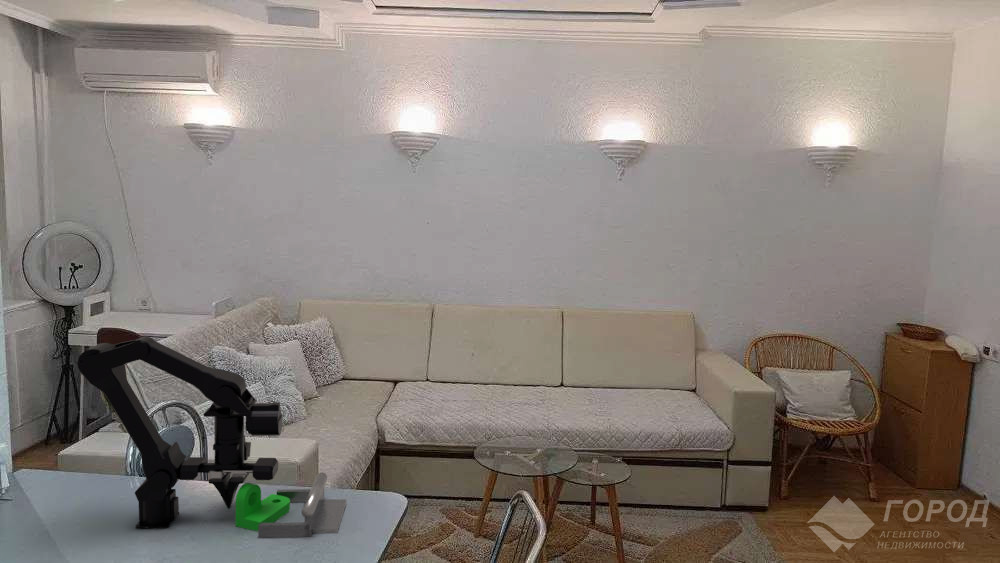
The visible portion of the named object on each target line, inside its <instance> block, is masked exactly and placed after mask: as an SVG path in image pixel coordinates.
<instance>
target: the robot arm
mask: <svg viewBox="0 0 1000 563" xmlns="http://www.w3.org/2000/svg"><path fill="white" fill-rule="evenodd" d="M136 361H142V362H144V363H146V364H149V365H150V366H152V367H154V368H157V369H159V370H161V371H163V372H165V373H167V374H169V375H170V376H173V377H175V378H178V379H179V380H182V381H183V382H185V383H188V384H190V385H191V386H193V387H195V388H196V389H197V390H198V391H200V393H202V395H203V396H204V397H205V398H206V399H208V400H210V402H212V403H211V405H210V406H209V407H208V408H207V409H206V410H205V411H204V413H203V414H202V415H203V417H205V418H207V417H214V421H213V422H214V423H213V424H214V425H213V426H214V427H213V428H214V433H213V434H214V436H213V437H214V443H213V445H212V450H214V462H208V459H207V457H203V456H202V457H199V456H198V457H197V456H194V457H193V456H192V457H191V456H189V457H188V456H187V455H186V454H184V453H183V452H182V449H181V447H180V445H179V443H178V442H177V441H175V442H173V443H172V444H169V442H166V441H165V440H164V439H163V438H162V437H161V435H160V433H159V432H158V429H157V428H156V426H155V425H154V423H153V422H152V419H151V418H150V415H148V413H147V411H146V409H145V408H144V406H143V405H142V403H141V402H140V399H139V398H138V396H137V395H136V393H135V391H134V390H133V388H132V386H131V384H130V382H129V381H128V377H127V370H126V365H127V364H129V363H132V362H136ZM76 367H77V369H78V371H79V373H81V375H82V377H83V378H85V379H86V381H87V382H88V383H89V384H90V385H91V386H93V387H94V388H96V389H97V390H98V391H100V392H102V394H104V396H105V397H106V399H107V400H108V402H109V404H110V405H111V407H112V409H113V410H114V412H115V413H116V416H117V418H118V419H119V420H120V422H121V423H122V425H123V428H125V430H126V432H127V434H128V436H130V438H131V440H132V442H133V444H134V445H135V447H136V448H137V450H138V452H139V453H140V459H141V465H142V471H143V474H144V477H145V479H144V481H143V482H142V483H141V484H140V486H138V487H137V489H136V490H135V492H134V495H135V497H136V499H137V501H138V522H137V523H136V524H135V529H162V528H163V529H164V528H166V529H167V528H169V527H171V525H172V524H173V523H174V521H175V520H176V519H177V518H178V516H179V515H180V509H179V505H180V504H179V496H176V494H177V492H176V488H174V487H175V486H176V484H177V482H178V481H179V480H180V481H194V480H196V478H197V477H198V476H199V474H201V473H202V474H203V473H204V474H206V473H207V474H209V479H208V484H212V485H213V486H214V488H215V489H216V490H217V492H218V493H219V495H220V496H221V498H222V500H223V502H224V504H225V505H226V508H227V509H228V510H229V509H231V508H232V505H233V503H234V499H235V498H236V495H237V494H236V493H237V492H238V488H239V486H240V485H241V484H242V485H243V484H244V482H245V481H246V479H247V478H248V476H249V475H250V474H252V478H253V479H255V480H256V481H271V480H273V479H274V478H275V476H276V475H277V473H278V471H279V460H278V459H277V458H276V457H259V458H258V459H257V460H256V461H255V462H253V463H252V462H251V463H250V462H245V461H247V460H248V459H249V458H250V457H251V449H252V448H251V447H252V442H251V441H246V435H245V431H246V432H247V434H248V435H250V436H251V437H267V436H269V437H272V436H273V437H275V436H277V437H279V436H281V434H282V429H283V414H282V408H281V402H279V401H276V402H275V401H274V402H267V403H266V402H262V403H261V402H257V399H256V398H255V397H254V396H253V394H252V393H251V392H250V391H249V389H248V388H247V384H246V381H245V378H244V377H243V376H242V375H241V374H239V373H235V372H232V371H229V370H226V369H221V368H216V367H215V368H214V367H210V366H207V365H204V364H202V363H201V362H198V361H197V360H195V359H192V358H191V357H188V356H186V355H184V354H182V353H181V352H178V351H176V350H174V349H173V348H170V347H168V346H166V345H164V344H162V343H160V342H158V341H156V340H155V339H154V338H152V337H150V336H142V337H139V338H137V339H132V340H127V341H123V342H119V343H116V344H112V343H109V342H101V343H98V344H96V345H94V346H92V347H90V348H88V349H86V350H84V351H83V352H81V354H80V355H79V356H78V359H77V362H76ZM187 457H188V458H187ZM186 458H187V459H186Z"/></svg>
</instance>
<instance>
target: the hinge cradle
mask: <svg viewBox="0 0 1000 563" xmlns="http://www.w3.org/2000/svg"><path fill="white" fill-rule="evenodd" d="M327 480H328V475H327V474H326V473H324V472H319V473H318V474H317V475H316V476H315V479H314V481H313V484H312V486H311V488H310V489H309V488H307V489H305V488H304V489H301V488H300V489H298V488H297V489H277V490H276V495H280V496H285V497H287V498H289V499H290V504H291V503H296V504H297V503H304V505H303V507H302V509H301V515H302V517H304V521H303V522H300V521H299V522H296V521H295V522H274V523H259V525H258V531H257V533H258V539H260V538H262V539H264V538H265V539H267V538H312V534H334V533H335V534H338V533H339V528H340V526H341V522H342V519H343V515H344V511H345V509H346V505H347V499H346V498H345V499H344V498H343V499H339V498H338V499H337V498H336V499H333V498H332V499H325V495H326V494H325V488H326V487H325V486H326V483H327Z"/></svg>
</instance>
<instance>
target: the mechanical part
mask: <svg viewBox="0 0 1000 563" xmlns="http://www.w3.org/2000/svg"><path fill="white" fill-rule="evenodd" d="M236 493H237V494H236V495H235V527H238V528H242V529H247V530H252V531H256V532H258V525H259V523H276V522H277V521H278V520H279V519H281V518H283V517H284V516H285V515H286V513H287V514H288V513H289V512H290V511H289V510H290V509H291V508H290V506H291V503H290V499H289V498H287V497H285V496H280V495H277V494H275V493H272V494H270V495H268V496H267V497H264V498H263V499H262V489H261V487H260V486H259V485H258V484H255V483H250V482H245V483H242V485H241V486H240V487H239V489H238V490H237V492H236ZM283 515H284V516H283Z"/></svg>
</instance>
